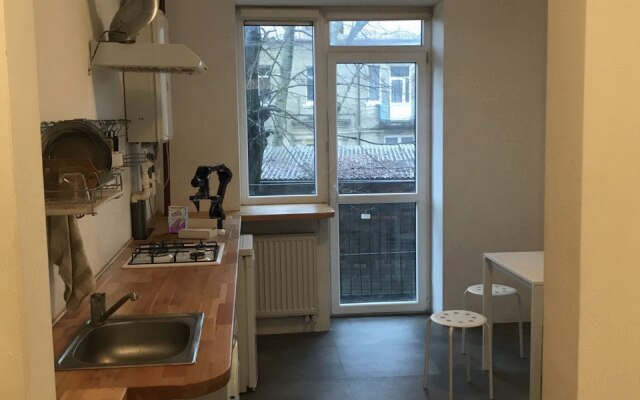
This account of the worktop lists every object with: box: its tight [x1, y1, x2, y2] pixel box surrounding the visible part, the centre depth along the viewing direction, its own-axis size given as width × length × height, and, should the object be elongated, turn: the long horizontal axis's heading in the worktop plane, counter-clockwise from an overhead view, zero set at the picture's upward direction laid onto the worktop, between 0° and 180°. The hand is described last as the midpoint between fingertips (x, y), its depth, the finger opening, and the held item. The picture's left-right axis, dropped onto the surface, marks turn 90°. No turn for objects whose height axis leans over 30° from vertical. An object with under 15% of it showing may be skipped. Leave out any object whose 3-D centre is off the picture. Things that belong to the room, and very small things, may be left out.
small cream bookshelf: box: [177, 227, 219, 240], centre depth 395 cm, size 12×20×5 cm, turn 74°
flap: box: [188, 218, 217, 229], centre depth 400 cm, size 5×19×1 cm
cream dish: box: [218, 229, 226, 236], centre depth 402 cm, size 7×7×2 cm
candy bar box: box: [167, 205, 189, 234], centre depth 409 cm, size 11×5×16 cm, turn 83°
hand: (205, 212), depth 405 cm, fingers open, 9 cm apart
